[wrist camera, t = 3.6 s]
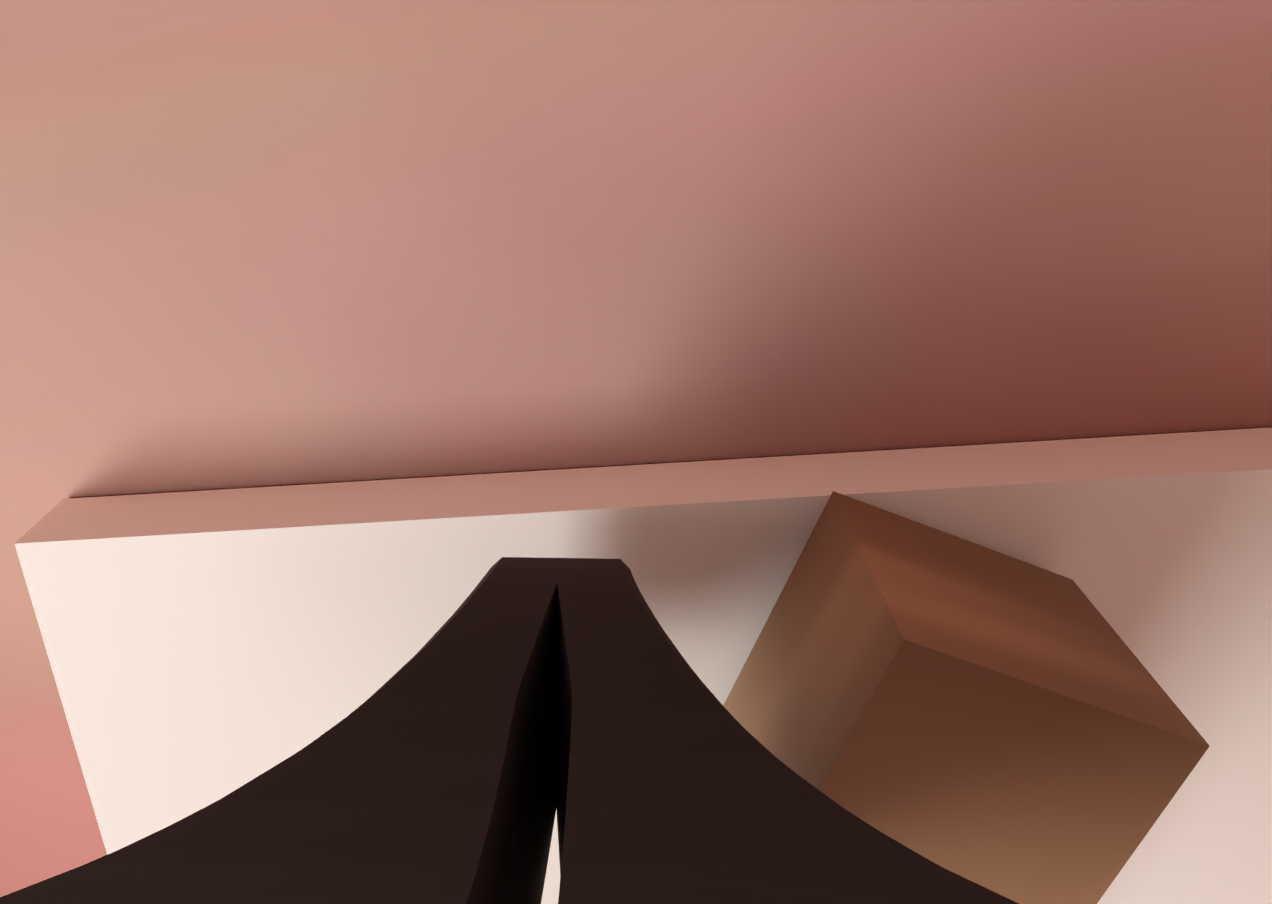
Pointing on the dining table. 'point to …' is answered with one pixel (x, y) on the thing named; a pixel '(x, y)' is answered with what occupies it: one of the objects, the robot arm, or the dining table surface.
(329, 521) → the white plate
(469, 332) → the dining table surface
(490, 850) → the robot arm
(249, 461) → the dining table surface
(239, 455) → the dining table surface
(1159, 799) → the walnut link
